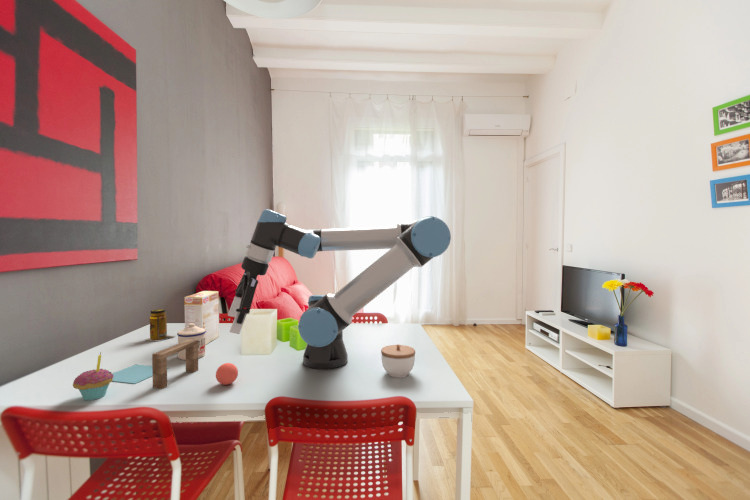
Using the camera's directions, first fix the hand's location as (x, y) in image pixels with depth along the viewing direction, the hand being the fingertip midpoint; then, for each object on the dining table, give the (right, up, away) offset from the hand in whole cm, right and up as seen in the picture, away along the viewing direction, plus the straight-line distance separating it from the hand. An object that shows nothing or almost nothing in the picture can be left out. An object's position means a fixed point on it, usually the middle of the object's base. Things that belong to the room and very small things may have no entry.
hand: (233, 324), depth 114 cm
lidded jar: (+51, -17, +4) cm, 53 cm away
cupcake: (-32, -17, -15) cm, 39 cm away
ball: (0, -13, -6) cm, 14 cm away
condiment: (-46, -14, +41) cm, 63 cm away
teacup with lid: (-22, -15, +20) cm, 33 cm away
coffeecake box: (-26, -15, +36) cm, 47 cm away
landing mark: (-31, -16, +2) cm, 35 cm away
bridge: (-16, -16, -2) cm, 23 cm away
